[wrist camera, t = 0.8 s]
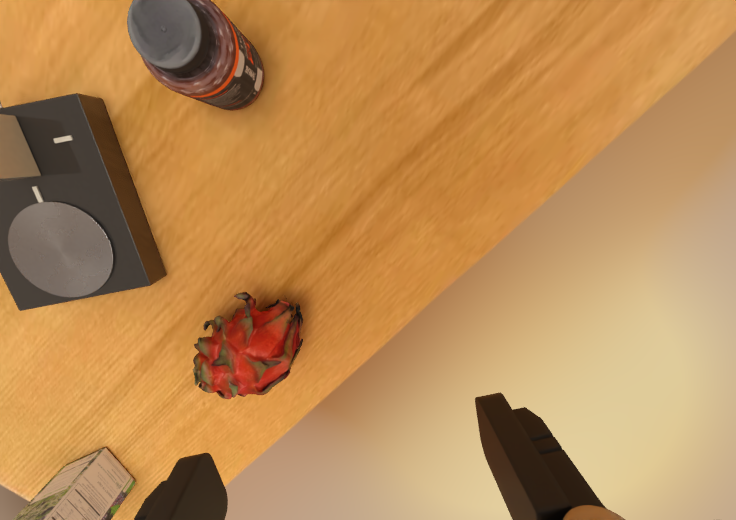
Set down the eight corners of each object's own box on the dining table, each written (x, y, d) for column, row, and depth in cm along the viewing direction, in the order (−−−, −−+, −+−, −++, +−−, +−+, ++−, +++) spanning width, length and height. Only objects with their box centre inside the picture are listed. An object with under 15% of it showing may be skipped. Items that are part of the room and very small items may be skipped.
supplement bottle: (280, 70, 31) (242, 25, 20) (238, 126, 32) (180, 112, 21) (221, 15, 30) (146, -64, 19) (179, 75, 31) (85, 33, 20)
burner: (-8, 211, 30) (-11, 212, 30) (92, 192, 30) (89, 192, 30) (37, 304, 33) (34, 305, 32) (129, 286, 33) (127, 287, 32)
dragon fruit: (211, 352, 40) (298, 283, 40) (248, 422, 37) (342, 346, 37) (150, 346, 32) (258, 260, 32) (190, 435, 29) (310, 338, 29)
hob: (-44, 108, 31) (-88, 103, 28) (95, 80, 31) (67, 72, 28) (46, 298, 36) (17, 311, 33) (166, 274, 36) (149, 286, 32)
